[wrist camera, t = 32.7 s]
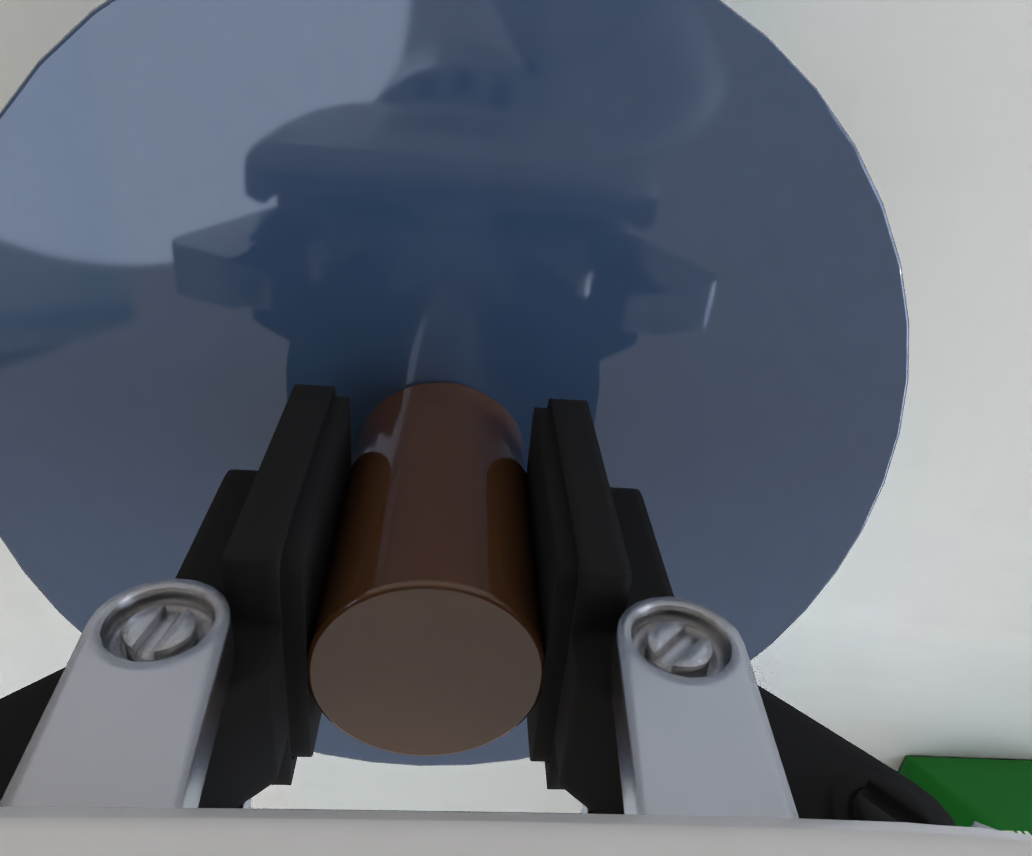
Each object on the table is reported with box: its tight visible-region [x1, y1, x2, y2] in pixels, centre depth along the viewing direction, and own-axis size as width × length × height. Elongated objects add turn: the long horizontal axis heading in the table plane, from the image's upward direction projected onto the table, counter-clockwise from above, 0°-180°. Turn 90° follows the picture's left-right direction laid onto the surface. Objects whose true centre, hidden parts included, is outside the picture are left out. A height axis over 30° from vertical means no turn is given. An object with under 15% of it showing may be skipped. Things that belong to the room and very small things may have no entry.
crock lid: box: [0, 0, 909, 766], centre depth 11 cm, size 15×15×6 cm
